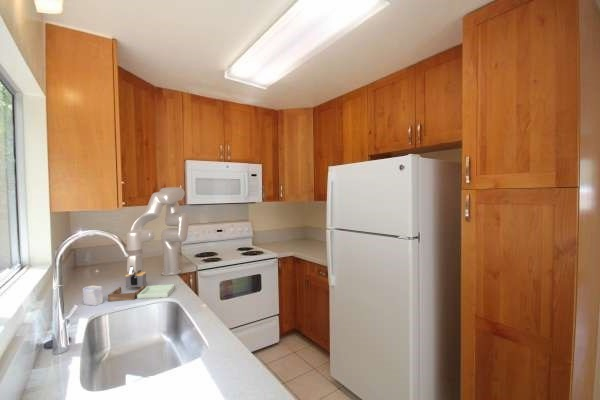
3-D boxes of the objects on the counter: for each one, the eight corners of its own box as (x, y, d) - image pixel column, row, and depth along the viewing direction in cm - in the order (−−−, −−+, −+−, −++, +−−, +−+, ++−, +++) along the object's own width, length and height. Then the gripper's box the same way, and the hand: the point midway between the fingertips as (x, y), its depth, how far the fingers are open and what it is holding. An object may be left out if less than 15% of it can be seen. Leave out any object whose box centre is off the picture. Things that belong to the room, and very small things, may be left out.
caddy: (129, 284, 162) (129, 272, 161) (146, 283, 163) (145, 271, 163) (126, 287, 157) (125, 275, 156) (142, 286, 158) (142, 274, 158)
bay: (119, 293, 154) (119, 287, 154) (145, 291, 156) (144, 285, 156) (108, 301, 142) (108, 295, 142) (135, 299, 144) (135, 293, 144)
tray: (147, 290, 158) (147, 285, 158) (175, 288, 160) (175, 284, 160) (137, 299, 144) (137, 294, 144) (167, 297, 146) (167, 292, 146)
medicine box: (103, 302, 141) (102, 286, 140) (94, 306, 136) (94, 289, 136) (91, 301, 143) (91, 285, 142) (83, 304, 138) (82, 288, 138)
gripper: (134, 249, 167) (135, 279, 168) (120, 256, 150) (122, 288, 151) (147, 249, 168) (148, 278, 169) (135, 255, 151) (137, 287, 152)
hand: (136, 282), depth 160 cm, fingers closed on caddy, 5 cm apart
